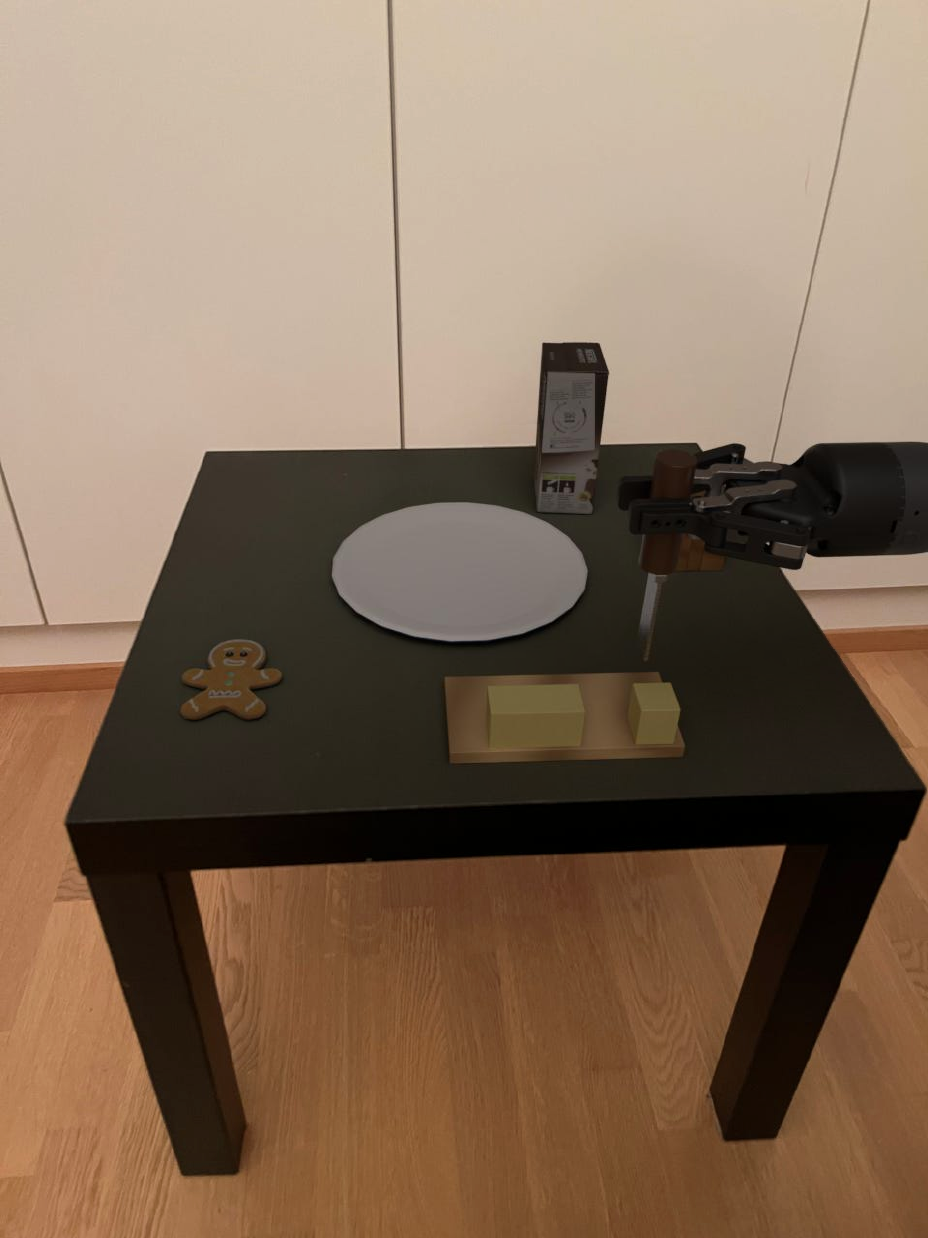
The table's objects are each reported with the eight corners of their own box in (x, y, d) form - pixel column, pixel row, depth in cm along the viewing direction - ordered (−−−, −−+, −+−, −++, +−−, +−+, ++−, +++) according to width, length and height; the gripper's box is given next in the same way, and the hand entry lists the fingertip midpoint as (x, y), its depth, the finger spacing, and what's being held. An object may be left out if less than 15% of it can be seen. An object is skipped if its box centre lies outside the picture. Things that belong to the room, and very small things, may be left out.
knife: (655, 640, 70) (691, 449, 61) (664, 661, 68) (702, 466, 59) (621, 640, 70) (651, 448, 61) (628, 662, 68) (661, 466, 59)
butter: (574, 718, 75) (578, 683, 73) (580, 746, 72) (585, 711, 70) (485, 720, 74) (487, 685, 72) (489, 748, 72) (490, 713, 69)
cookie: (166, 713, 74) (192, 636, 82) (168, 722, 75) (194, 644, 83) (273, 713, 75) (288, 636, 83) (274, 722, 75) (289, 644, 83)
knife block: (703, 534, 100) (712, 488, 97) (722, 570, 95) (732, 522, 92) (647, 535, 100) (655, 489, 97) (663, 571, 94) (671, 523, 91)
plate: (629, 556, 96) (631, 546, 96) (500, 686, 79) (501, 674, 79) (429, 488, 107) (429, 479, 107) (277, 590, 90) (276, 579, 90)
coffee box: (594, 515, 103) (610, 372, 94) (535, 513, 103) (545, 370, 94) (587, 476, 111) (601, 340, 101) (532, 475, 111) (541, 339, 101)
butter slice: (664, 716, 75) (670, 682, 73) (674, 744, 72) (681, 709, 70) (626, 717, 75) (632, 682, 73) (635, 745, 72) (641, 710, 70)
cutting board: (656, 682, 80) (658, 671, 79) (683, 757, 73) (685, 746, 72) (444, 687, 79) (444, 676, 78) (449, 764, 72) (449, 752, 71)
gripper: (849, 404, 67) (607, 408, 65) (949, 498, 55) (659, 505, 54) (823, 499, 71) (596, 505, 69) (911, 604, 59) (641, 613, 58)
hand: (624, 505), depth 62 cm, fingers closed on knife, 2 cm apart
